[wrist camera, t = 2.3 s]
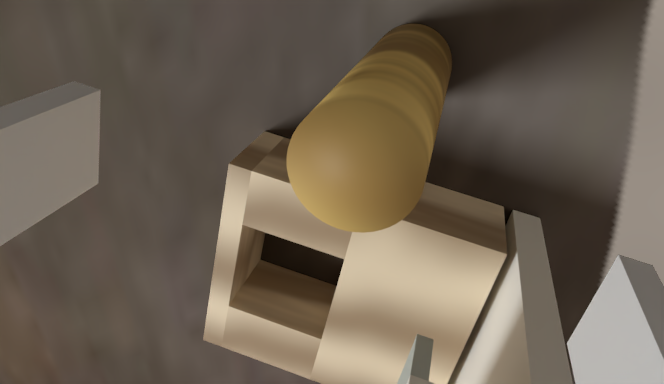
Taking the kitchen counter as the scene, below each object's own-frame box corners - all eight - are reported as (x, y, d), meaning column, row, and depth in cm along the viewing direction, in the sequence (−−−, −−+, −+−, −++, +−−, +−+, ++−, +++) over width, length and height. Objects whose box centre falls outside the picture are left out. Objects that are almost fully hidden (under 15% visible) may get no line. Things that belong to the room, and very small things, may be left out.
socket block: (264, 131, 31) (229, 163, 27) (503, 206, 29) (507, 254, 25) (236, 291, 37) (203, 339, 32) (435, 362, 35) (428, 423, 31)
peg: (384, 14, 27) (301, 82, 15) (463, 36, 26) (445, 126, 14) (364, 90, 29) (275, 207, 16) (437, 112, 28) (402, 250, 16)
